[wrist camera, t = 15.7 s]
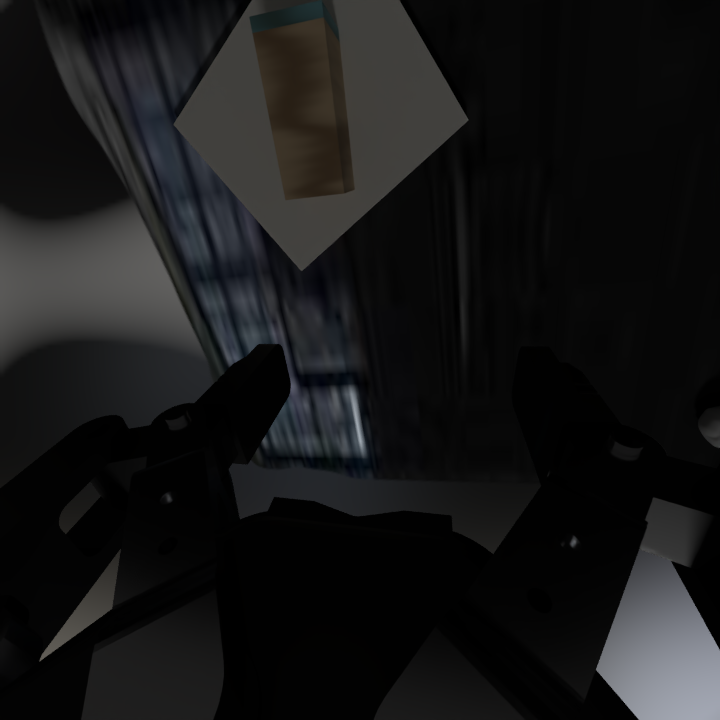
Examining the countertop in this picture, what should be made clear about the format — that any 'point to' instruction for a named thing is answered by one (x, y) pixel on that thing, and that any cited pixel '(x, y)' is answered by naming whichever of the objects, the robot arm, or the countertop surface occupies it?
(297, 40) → the brown tall block
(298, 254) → the cream board
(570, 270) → the countertop surface
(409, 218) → the countertop surface
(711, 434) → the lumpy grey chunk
